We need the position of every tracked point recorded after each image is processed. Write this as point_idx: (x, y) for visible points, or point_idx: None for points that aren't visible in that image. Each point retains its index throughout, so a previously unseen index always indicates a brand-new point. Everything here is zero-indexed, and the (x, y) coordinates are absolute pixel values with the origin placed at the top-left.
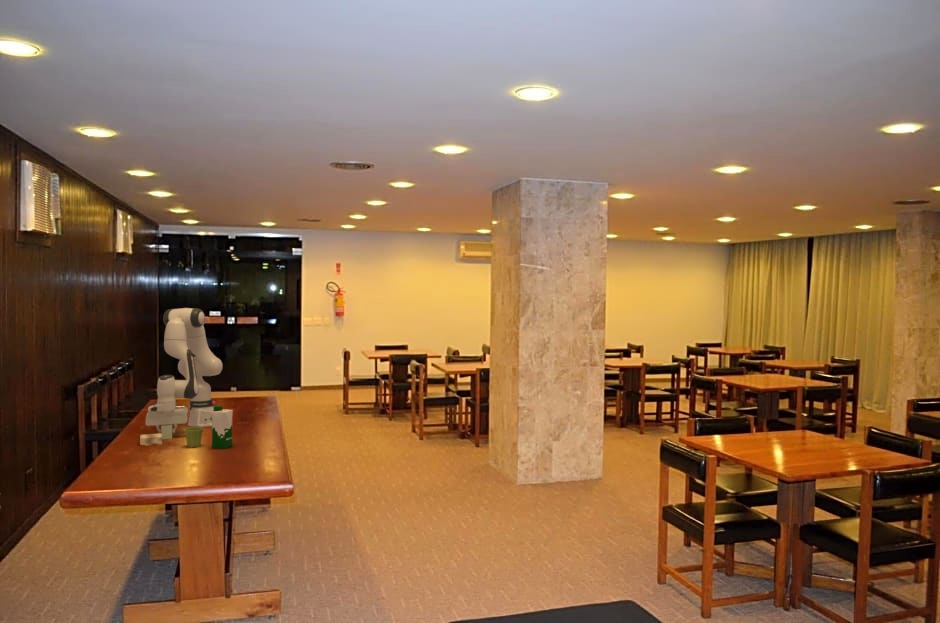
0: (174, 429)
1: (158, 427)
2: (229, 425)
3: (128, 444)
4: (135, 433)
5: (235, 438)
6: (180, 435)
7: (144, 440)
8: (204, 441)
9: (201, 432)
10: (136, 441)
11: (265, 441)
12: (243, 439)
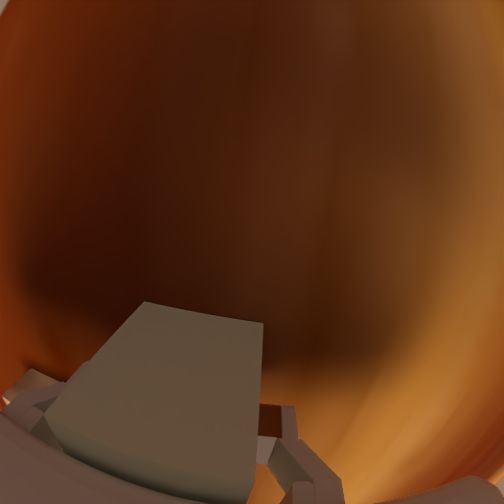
0: (278, 465)
1: (45, 402)
2: None
3: (7, 383)
4: (21, 7)
5: (498, 451)
6: (373, 277)
7: None
8: (393, 494)
9: None
10: (6, 333)
11: (493, 480)
12: (494, 464)
